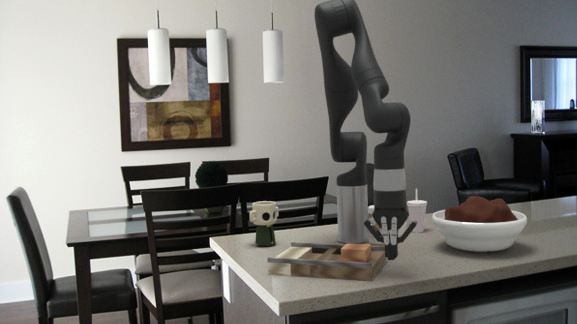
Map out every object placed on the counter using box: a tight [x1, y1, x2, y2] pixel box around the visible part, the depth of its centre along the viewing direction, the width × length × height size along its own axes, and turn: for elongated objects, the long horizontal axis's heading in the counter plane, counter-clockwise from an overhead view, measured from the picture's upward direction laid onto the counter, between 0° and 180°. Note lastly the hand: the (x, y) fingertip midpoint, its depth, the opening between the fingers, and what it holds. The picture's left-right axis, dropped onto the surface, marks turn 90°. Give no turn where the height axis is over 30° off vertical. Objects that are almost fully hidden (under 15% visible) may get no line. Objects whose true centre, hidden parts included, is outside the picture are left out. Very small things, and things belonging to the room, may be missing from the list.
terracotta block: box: [341, 243, 371, 263], centre depth 140 cm, size 6×6×4 cm
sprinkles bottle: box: [368, 204, 385, 246], centre depth 157 cm, size 5×5×14 cm
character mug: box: [249, 200, 279, 247], centre depth 174 cm, size 11×7×13 cm, turn 131°
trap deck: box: [267, 241, 387, 282], centre depth 146 cm, size 26×18×4 cm
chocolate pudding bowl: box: [431, 195, 528, 253], centre depth 160 cm, size 25×25×15 cm
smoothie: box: [406, 188, 428, 234], centre depth 185 cm, size 6×6×14 cm
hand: (391, 259), depth 138 cm, fingers closed
